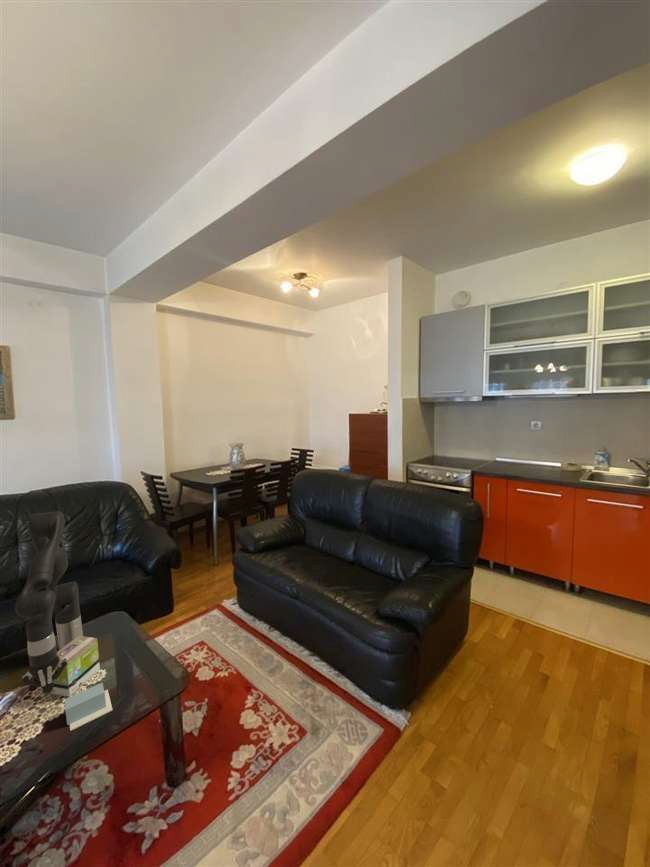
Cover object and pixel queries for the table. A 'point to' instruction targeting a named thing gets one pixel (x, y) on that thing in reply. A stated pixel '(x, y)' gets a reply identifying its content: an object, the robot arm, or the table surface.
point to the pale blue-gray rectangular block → (85, 703)
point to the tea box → (76, 665)
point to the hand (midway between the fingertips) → (48, 692)
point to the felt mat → (93, 714)
